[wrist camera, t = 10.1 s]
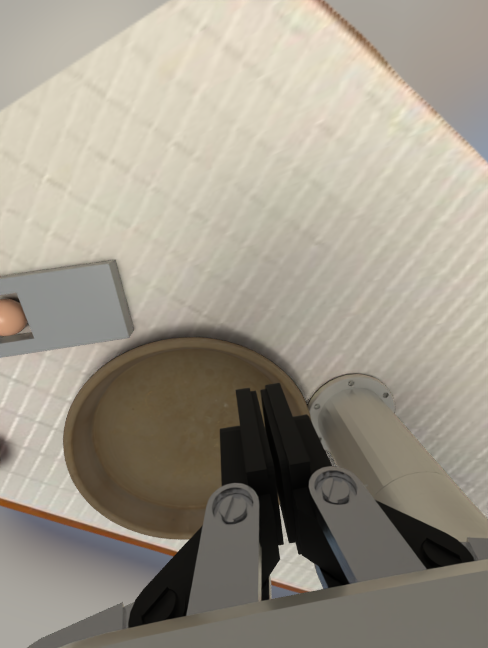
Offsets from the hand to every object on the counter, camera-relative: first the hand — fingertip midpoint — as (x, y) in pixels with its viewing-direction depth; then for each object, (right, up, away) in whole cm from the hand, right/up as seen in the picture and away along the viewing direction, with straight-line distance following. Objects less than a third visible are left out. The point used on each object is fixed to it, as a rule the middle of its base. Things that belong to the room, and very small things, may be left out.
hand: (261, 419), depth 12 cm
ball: (-26, +4, +23) cm, 35 cm away
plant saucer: (-7, -11, +33) cm, 36 cm away
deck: (-22, +6, +25) cm, 34 cm away
